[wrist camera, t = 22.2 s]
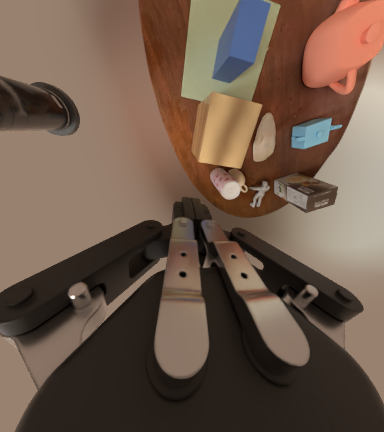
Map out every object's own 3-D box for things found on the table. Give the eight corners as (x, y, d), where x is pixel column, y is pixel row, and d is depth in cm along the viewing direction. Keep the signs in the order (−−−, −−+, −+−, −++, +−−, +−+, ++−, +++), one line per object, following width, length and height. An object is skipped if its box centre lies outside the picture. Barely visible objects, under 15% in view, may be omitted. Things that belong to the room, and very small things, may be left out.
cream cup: (238, 165, 50) (244, 168, 46) (243, 185, 55) (249, 190, 50) (227, 170, 51) (233, 174, 46) (233, 190, 55) (238, 195, 51)
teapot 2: (359, -22, 32) (449, -94, 21) (338, 91, 42) (391, 80, 32) (299, 4, 33) (356, -53, 22) (293, 108, 43) (330, 102, 33)
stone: (249, 162, 50) (252, 163, 49) (253, 114, 43) (257, 114, 41) (271, 158, 50) (275, 159, 49) (279, 110, 43) (283, 109, 41)
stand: (190, 150, 46) (198, 161, 31) (198, 105, 40) (212, 91, 25) (219, 156, 48) (240, 168, 33) (230, 113, 42) (262, 104, 27)
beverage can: (206, 174, 51) (217, 190, 38) (219, 163, 49) (234, 176, 37) (215, 186, 54) (228, 204, 41) (228, 175, 52) (245, 191, 39)
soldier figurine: (258, 197, 61) (269, 174, 51) (264, 206, 58) (276, 183, 48) (244, 199, 61) (252, 176, 51) (248, 208, 57) (258, 186, 48)
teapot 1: (323, 115, 45) (348, 112, 38) (320, 136, 48) (342, 137, 42) (285, 128, 46) (304, 128, 39) (285, 148, 49) (301, 151, 43)
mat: (180, 96, 39) (181, 96, 39) (194, -29, 29) (194, -31, 28) (247, 112, 42) (248, 112, 42) (279, 6, 32) (280, 5, 32)
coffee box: (274, 194, 58) (304, 214, 44) (274, 179, 55) (307, 196, 41) (296, 186, 57) (334, 204, 44) (298, 171, 54) (339, 186, 40)
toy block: (242, -9, 22) (219, 39, 34) (229, 55, 26) (211, 78, 37) (271, 3, 23) (238, 45, 35) (254, 63, 26) (229, 83, 38)
